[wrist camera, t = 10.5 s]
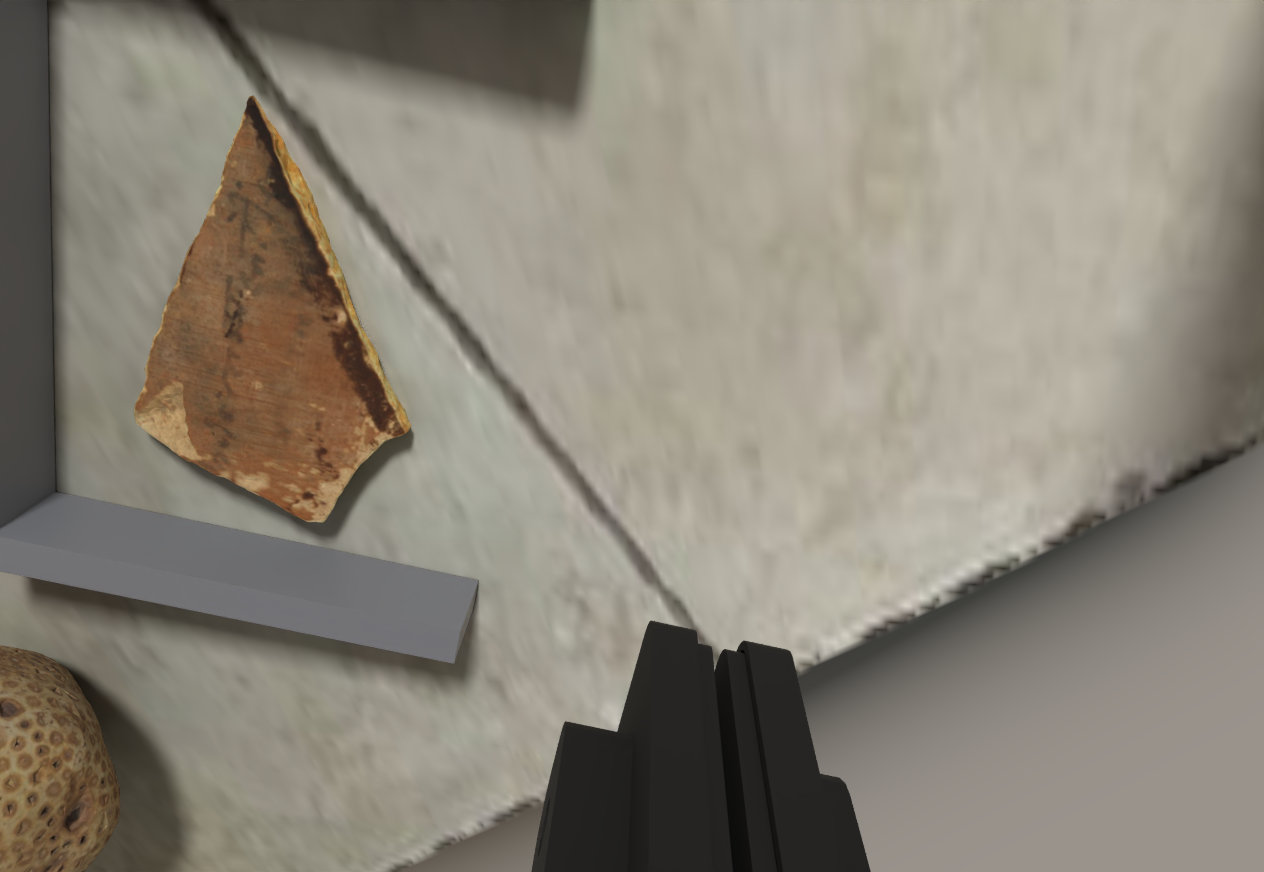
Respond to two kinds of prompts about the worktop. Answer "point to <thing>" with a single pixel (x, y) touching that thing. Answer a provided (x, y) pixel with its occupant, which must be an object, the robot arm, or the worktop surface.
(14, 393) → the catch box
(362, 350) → the shard
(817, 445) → the worktop surface
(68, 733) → the natural sponge
